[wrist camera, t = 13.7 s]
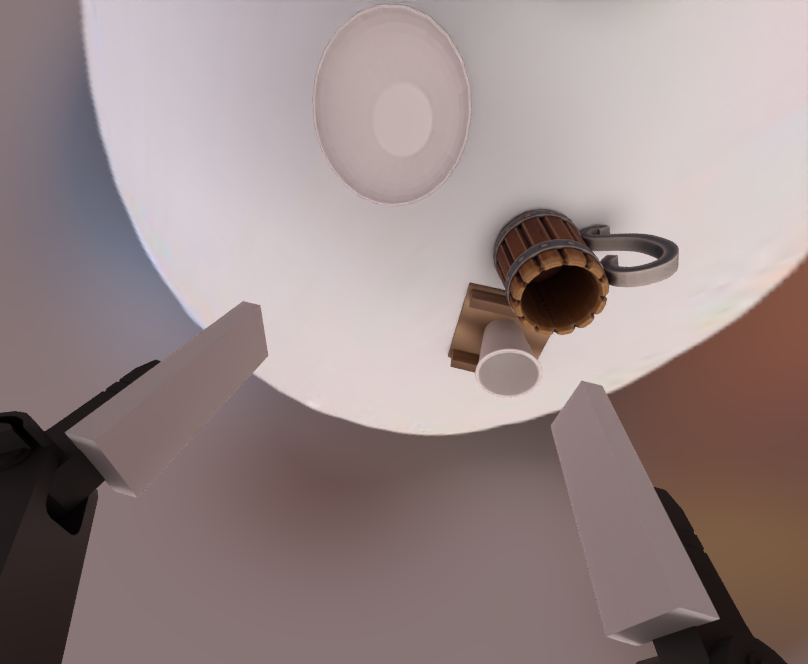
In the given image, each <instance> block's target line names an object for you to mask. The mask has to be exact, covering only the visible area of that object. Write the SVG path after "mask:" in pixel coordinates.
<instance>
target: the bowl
mask: <svg viewBox="0 0 808 664" xmlns="http://www.w3.org/2000/svg"><path fill="white" fill-rule="evenodd" d="M313 113H314V125H315V129H316V133H317V136H318V140H319V143H320V147H321V150H322V152H323V153H324V155H325V157H326V159H327V161H328V163H329V165H330V167H331V169H332V170H333V171H334V172H335V174H336V175H337V176H338V177H339V179H340V180H341V181H342V182H343V183H344V185H346V186H347V187H348V188H349V189H351V190H352V191H353V192H355V193H356V194H357V195H359V196H360V197H362V198H364V199H367V200H369V201H372V202H374V203H376V204H383V205H391V206H397V205H404V204H410V203H414V202H416V201H418V200H420V199H422V198H424V197H426V196H428V195H430V194H431V193H432V192H433V191H435V190H436V189H437V188H438V187H439V186H440V185H442V184H443V183H444V182H445V181H446V179H447V178H448V177H449V175H450V174H451V172H452V171H453V169H454V168H455V167H456V165H457V164H458V162H459V159H460V157H461V154H462V152H463V149H464V147H465V144H466V142H467V138H468V132H469V126H470V120H471V93H470V84H469V80H468V77H467V73H466V70H465V66H464V63H463V59H462V57H461V55H460V53H459V52H458V50H457V48H456V47H455V45H454V43H453V41H452V40H451V38H450V36H449V34H448V33H447V32H446V31H445V30H444V29H443V28H442V27H441V26H439V25H438V24H437V23H436V22H435V21H434V20H433V19H432V18H431V17H430V16H429V15H427V14H425V13H423V12H420V11H418V10H416V9H414V8H411V7H409V6H407V5H396V4H380V5H377V6H374V7H371V8H368V9H365V10H362V11H359V12H358V13H356V14H355V15H354V16H353V17H351V18H350V19H349V20H348V21H347V22H345V23H344V24H343V25H342V26H341V27H339V29H338V30H337V32H336V33H335V35H334V36H333V38H332V39H331V40H330V42H329V43H328V45H327V46H326V48H325V50H324V52H323V55H322V58H321V61H320V63H319V66H318V69H317V72H316V76H315V84H314V92H313Z"/></svg>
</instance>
